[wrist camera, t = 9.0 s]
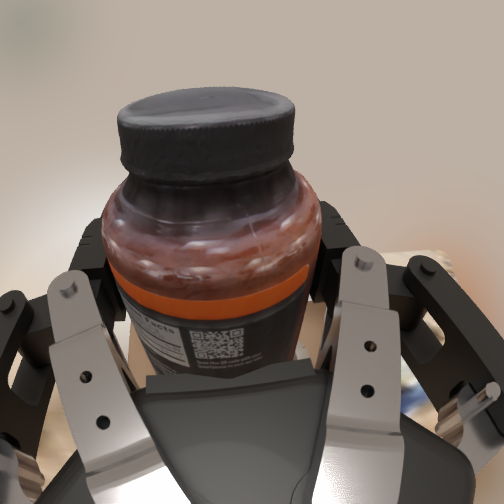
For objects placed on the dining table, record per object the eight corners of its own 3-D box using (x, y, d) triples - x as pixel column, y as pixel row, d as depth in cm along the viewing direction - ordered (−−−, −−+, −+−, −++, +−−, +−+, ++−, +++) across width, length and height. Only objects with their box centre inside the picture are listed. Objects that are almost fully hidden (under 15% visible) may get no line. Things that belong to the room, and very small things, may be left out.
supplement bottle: (238, 301, 16) (241, 77, 9) (314, 377, 13) (397, 118, 6) (139, 350, 14) (64, 109, 6) (204, 451, 10) (103, 172, 3)
